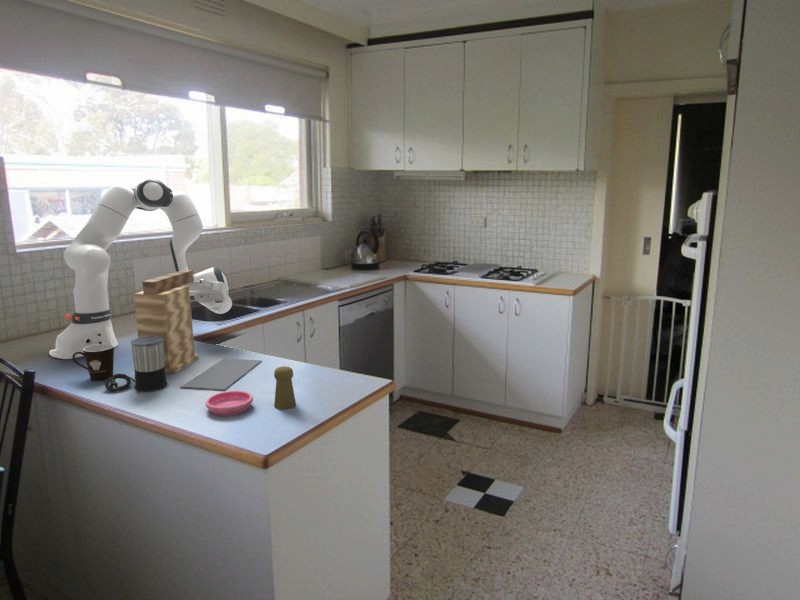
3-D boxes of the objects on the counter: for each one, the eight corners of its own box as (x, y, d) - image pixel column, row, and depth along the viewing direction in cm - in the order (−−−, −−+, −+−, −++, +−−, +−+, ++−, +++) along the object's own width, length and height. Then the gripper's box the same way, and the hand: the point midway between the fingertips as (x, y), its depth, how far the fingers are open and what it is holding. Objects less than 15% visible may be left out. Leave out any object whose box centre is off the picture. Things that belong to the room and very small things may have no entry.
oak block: (174, 373, 184) (167, 295, 179) (137, 371, 186) (129, 293, 181) (198, 358, 200) (193, 285, 194) (164, 356, 202) (158, 284, 196)
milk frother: (173, 386, 173) (169, 339, 170) (119, 401, 161) (114, 351, 158) (153, 375, 182) (148, 331, 179) (100, 388, 171) (95, 341, 168)
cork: (275, 401, 161) (273, 364, 159) (297, 400, 162) (295, 363, 159) (272, 409, 155) (270, 371, 153) (295, 409, 156) (293, 371, 154)
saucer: (199, 418, 150) (198, 407, 150) (214, 400, 162) (213, 390, 162) (246, 418, 150) (246, 407, 150) (258, 400, 162) (257, 390, 162)
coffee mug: (123, 375, 183) (120, 345, 181) (101, 383, 175) (98, 352, 173) (95, 371, 187) (92, 341, 185) (72, 379, 179) (69, 349, 177)
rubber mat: (224, 390, 169) (224, 389, 169) (180, 388, 171) (180, 386, 171) (261, 361, 196) (261, 360, 196) (223, 359, 198) (223, 358, 198)
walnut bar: (155, 294, 180) (154, 281, 179) (143, 293, 181) (142, 281, 180) (193, 281, 203) (192, 270, 202) (183, 281, 204) (182, 269, 203)
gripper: (183, 284, 219) (164, 271, 207) (232, 286, 216) (217, 273, 203) (179, 300, 218) (160, 287, 205) (229, 302, 214) (213, 289, 201)
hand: (189, 280), depth 204 cm, fingers open, 8 cm apart
